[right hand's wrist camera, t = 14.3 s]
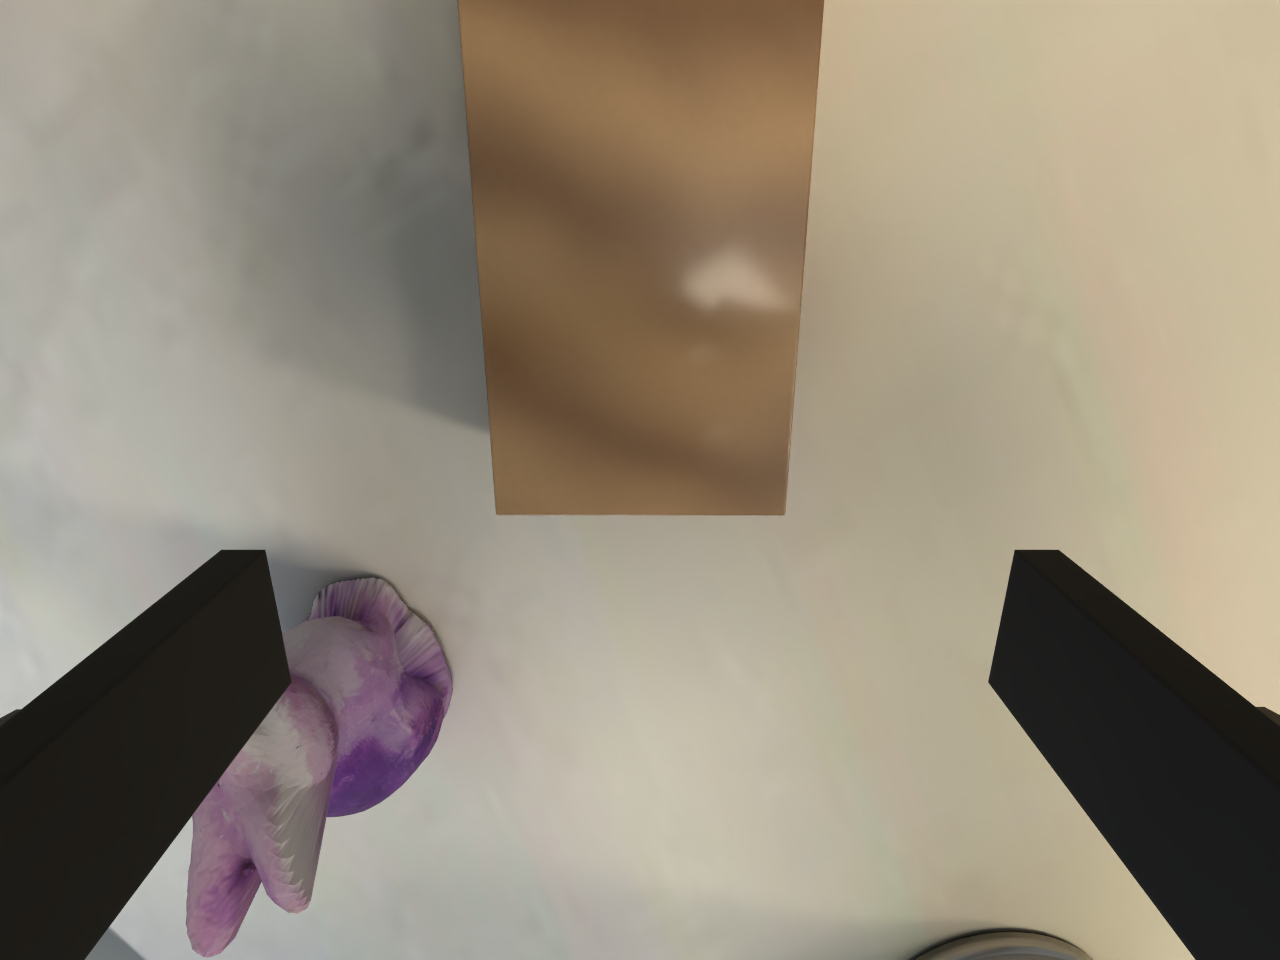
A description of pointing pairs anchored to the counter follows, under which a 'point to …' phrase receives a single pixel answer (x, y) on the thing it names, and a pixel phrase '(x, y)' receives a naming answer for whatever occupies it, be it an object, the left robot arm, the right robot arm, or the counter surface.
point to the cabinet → (640, 247)
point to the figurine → (317, 754)
